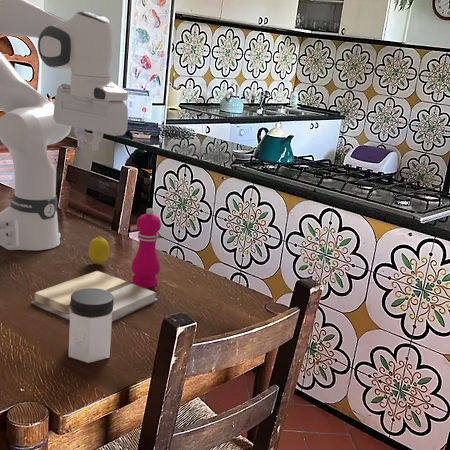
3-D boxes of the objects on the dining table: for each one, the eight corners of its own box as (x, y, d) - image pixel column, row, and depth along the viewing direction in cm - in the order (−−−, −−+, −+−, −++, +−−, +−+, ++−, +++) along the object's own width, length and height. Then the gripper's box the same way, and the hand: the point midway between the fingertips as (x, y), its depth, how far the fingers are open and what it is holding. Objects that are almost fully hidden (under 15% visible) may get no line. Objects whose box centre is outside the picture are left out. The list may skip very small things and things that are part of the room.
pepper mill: (153, 290, 155) (159, 214, 149) (126, 285, 156) (131, 209, 150) (162, 280, 162) (168, 207, 156) (136, 276, 163) (140, 202, 157)
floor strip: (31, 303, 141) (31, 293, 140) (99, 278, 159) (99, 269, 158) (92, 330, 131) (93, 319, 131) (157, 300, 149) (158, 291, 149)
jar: (58, 354, 120) (59, 297, 117) (82, 338, 128) (84, 284, 124) (97, 367, 117) (100, 309, 114) (120, 349, 125) (123, 294, 121)
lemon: (94, 269, 164) (95, 240, 162) (84, 262, 168) (85, 234, 166) (112, 266, 168) (114, 238, 166) (102, 259, 172) (103, 232, 169)
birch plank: (34, 300, 141) (34, 292, 141) (96, 278, 158) (96, 270, 157) (66, 313, 136) (66, 305, 136) (126, 288, 153) (126, 281, 152)
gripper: (47, 82, 143) (46, 142, 147) (114, 94, 133) (111, 158, 137) (67, 82, 148) (66, 140, 152) (133, 94, 138) (130, 155, 142)
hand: (87, 148), depth 144 cm, fingers open, 2 cm apart
